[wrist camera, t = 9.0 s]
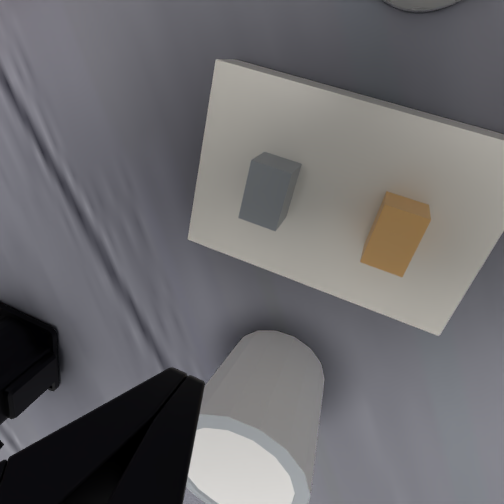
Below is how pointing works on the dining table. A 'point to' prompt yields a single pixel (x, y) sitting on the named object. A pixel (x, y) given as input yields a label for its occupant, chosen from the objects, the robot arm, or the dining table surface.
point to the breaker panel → (347, 192)
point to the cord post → (420, 4)
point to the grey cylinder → (259, 424)
